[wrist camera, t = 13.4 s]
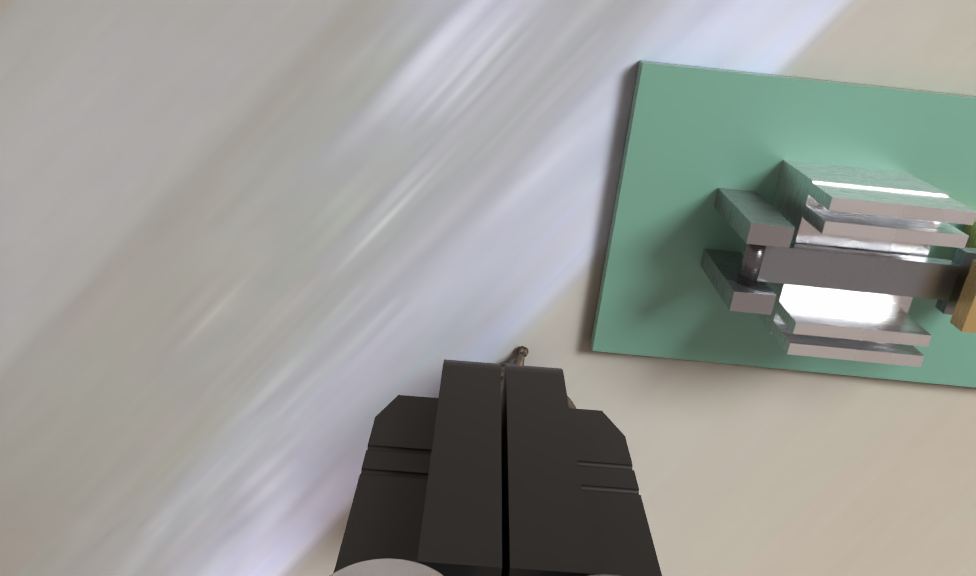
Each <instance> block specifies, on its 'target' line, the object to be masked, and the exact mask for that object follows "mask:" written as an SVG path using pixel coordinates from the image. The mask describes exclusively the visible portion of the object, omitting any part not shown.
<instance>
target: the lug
mask: <svg viewBox="0 0 976 576" xmlns="http://www.w3.org/2000/svg"><path fill="white" fill-rule="evenodd" d="M962 232H963V233H965V234H967V235H969V237H968V240H967V243H966V245H965V247H967V248H976V218H975V221H974V224H973V225H966V224H965V226H964V229H963V231H962ZM954 254H955V253H954ZM953 257H954V256H953ZM950 323H951V324H953V325H954V326H955V327H956V328H957V329H959V330H960V331H961V332H969V333H976V260H973V262H972V265H971V268H970V270H969V273H968V275H967V278H966V281H965V283H964V286H963V289H962V291H961V294H960V297H959V299H958V302H957V305H956V307H955V310H954V313H953V315H952V318H951V321H950Z"/></svg>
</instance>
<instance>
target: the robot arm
mask: <svg viewBox="0 0 976 576" xmlns="http://www.w3.org/2000/svg"><path fill="white" fill-rule="evenodd" d="M330 576H662V574H661V571H660V567H659V563H658V559H657V556H656V552H655V548H654V544H653V540H652V537H651V533H650V529H649V525H648V522H647V518H646V514H645V510H644V507H643V503H642V499H641V495H639V488H638V484H637V480H636V476H635V473H634V470H632V461H631V457H630V454H629V450H628V446H627V442H626V439H625V436H624V435H623V434H622V433H621V431H620V430H619V429H618V428H617V427H616V426H615V425H614V424H613V423H612V422H611V420H610V419H609V418H608V417H607V416H606V415H605V414H604V413H603V412H602V411H597V410H584V409H571V408H569V406H568V399H567V393H566V387H565V380H564V374H563V370H562V369H559V368H546V367H533V366H521V365H508V364H505V367H504V373H503V381H502V390H501V365H500V364H493V363H481V362H468V361H455V360H444V363H443V370H442V378H441V385H440V393H439V398H428V397H415V396H402V395H398V396H397V397H396V398H395V399H394V400H393V401H392V402H391V403H390V404H389V405H388V406H387V407H386V408H384V409H383V410H382V411H381V412H380V413H379V414H378V415H377V416H376V417H375V420H374V424H373V428H372V432H371V435H370V439H369V443H368V450H366V454H365V458H364V462H363V465H362V472H361V474H360V477H359V480H358V484H357V488H356V492H355V495H354V499H353V503H352V507H351V511H350V514H349V518H348V522H347V526H346V529H345V533H344V537H343V541H342V544H341V548H340V552H339V556H338V559H337V563H336V567H335V570H334V572H333V574H332V575H330Z"/></svg>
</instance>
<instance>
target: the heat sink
mask: <svg viewBox="0 0 976 576" xmlns="http://www.w3.org/2000/svg"><path fill="white" fill-rule="evenodd" d="M948 196H949V194H947V193H945V192H943V191H941V190H940V189H938V188H936V187H934V186H932V185H930V184H928V183H926V182H924V181H923V180H921V179H919V178H917V177H915V176H913V175H911V174H909V173H907V172H898V171H888V170H878V169H869V168H859V167H850V166H840V165H830V164H821V163H811V162H801V161H792V160H783V162H782V166H781V170H780V174H779V178H778V182H777V186H776V190H775V193H774V197H773V201H772V205H770V204H769V203H768V202H767V201H766V200H764V199H763V198H762V197H761V196H760V195H759V194H758V193H757V192H756V191H746V190H737V189H727V188H718V189H717V193H716V198H715V202H714V207H715V208H716V209H717V210H718V211H719V213H720V214H721V215H722V216H723V217H724V218H725V220H726V221H727V222H728V223H729V224H730V225H731V227H732V228H733V229H734V230H735V231H736V232H737V234H738V235H739V236H740V237H741V238H742V239H743V240H744V242H745V243H746V244H754V245H764V246H774V247H784V248H790V244H791V243H794V244H803V245H813V246H822V247H832V248H841V249H851V250H861V251H870V252H880V253H889V254H899V255H908V256H918V257H927V256H928V253H929V250H930V248H931V245H936V246H946V247H956V248H965V245H966V243H967V240H968V237H969V235H967V234H965V233H963V232H962V231H960V230H958V229H957V228H955V227H953V226H952V225H950V224H948V223H956V224H966V225H973V224H974V221H975V218H976V211H974V210H973V209H971V208H969V207H967V206H965V205H963V204H961V203H959V202H958V201H956V200H954V199H952V198H950V197H948ZM742 257H743V254H742V253H741V252H734V251H724V250H714V249H704V251H703V255H702V260H701V264H700V266H701V268H702V269H703V271H704V272H705V274H706V275H707V277H708V278H709V280H710V282H711V283H712V285H713V286H714V288H715V289H716V291H717V292H718V294H719V295H720V297H721V298H722V300H723V301H724V303H725V305H726V306H727V308H728V309H729V311H737V312H747V313H756V314H757V316H758V317H759V319H760V320H761V321H762V323H763V324H764V326H765V327H766V328H767V330H768V331H769V333H770V334H773V336H774V337H775V338H776V340H777V341H778V343H779V344H780V345H781V347H782V348H783V349H784V351H785V352H786V354H789V355H799V356H810V357H820V358H831V359H841V360H851V361H862V362H872V363H882V364H893V365H903V366H913V367H921V364H922V362H923V359H924V355H923V354H922V353H921V352H920V351H918V350H917V349H916V348H915V347H914V346H924V347H928V345H929V343H930V340H931V337H932V335H931V334H930V333H928V332H927V331H926V330H925V329H924V328H923V327H922V326H920V325H919V324H918V323H917V322H916V321H915V320H914V319H912V318H911V317H910V316H909V315H908V314H907V313H908V310H909V307H910V305H911V302H912V299H913V297H907V296H897V295H887V294H878V293H868V292H859V291H849V290H839V289H830V288H820V287H810V286H801V285H791V284H781V283H772V282H762V281H759V282H758V285H757V286H747V285H744V284H741V283H739V282H738V281H737V277H738V273H739V269H740V265H741V261H742Z"/></svg>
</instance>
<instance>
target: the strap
mask: <svg viewBox="0 0 976 576" xmlns="http://www.w3.org/2000/svg"><path fill="white" fill-rule="evenodd" d="M973 260H976V248H967V247H965V248H956V251H955V254H954V257H953V259H952V260H947V259H937V258H928V257H918V256H908V255H899V254H889V253H880V252H870V251H861V250H851V249H841V248H832V247H822V246H813V245H803V244H794V243H791V244H790V248H784V247H774V246H764V245H754V244H746V245H745V249H744V253H743V257H742V261H741V265H740V269H739V273H738V277H737V281H738V282H739V283H741V284H744V285H747V286H757V285H758V282H759V281H762V282H772V283H781V284H791V285H801V286H810V287H820V288H830V289H839V290H849V291H859V292H868V293H878V294H887V295H897V296H907V297H916V298H926V299H936V300H937V303H936V306H935V307H936V308H937V309H938V310H939V311H941V312H942V313H943V314H949V315H953V313H954V310H955V307H956V305H957V302H958V299H959V297H960V294H961V291H962V289H963V286H964V283H965V281H966V278H967V275H968V273H969V270H970V268H971V265H972V262H973Z"/></svg>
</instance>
